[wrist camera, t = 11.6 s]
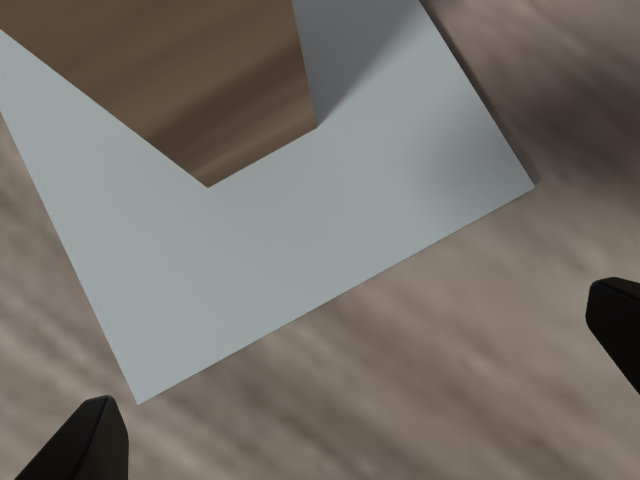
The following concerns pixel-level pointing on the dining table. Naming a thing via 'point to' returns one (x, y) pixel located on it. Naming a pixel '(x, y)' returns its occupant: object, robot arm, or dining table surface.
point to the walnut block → (180, 72)
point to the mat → (263, 190)
